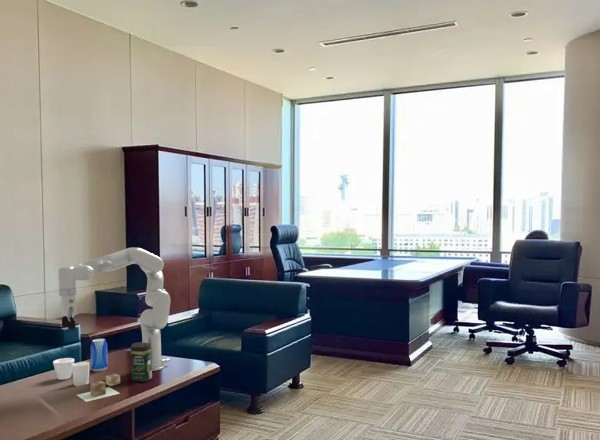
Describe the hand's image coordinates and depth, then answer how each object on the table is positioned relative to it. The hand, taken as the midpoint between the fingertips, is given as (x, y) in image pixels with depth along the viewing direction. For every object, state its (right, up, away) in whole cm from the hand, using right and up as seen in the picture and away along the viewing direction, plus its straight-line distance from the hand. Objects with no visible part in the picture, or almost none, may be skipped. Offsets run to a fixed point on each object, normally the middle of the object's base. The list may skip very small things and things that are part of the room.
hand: (68, 327), depth 251 cm
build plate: (+20, -28, -15) cm, 38 cm away
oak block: (+21, -28, 0) cm, 35 cm away
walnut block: (+20, -27, -15) cm, 37 cm away
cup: (-9, -30, +16) cm, 35 cm away
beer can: (+3, -29, +31) cm, 42 cm away
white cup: (+4, -29, +5) cm, 30 cm away
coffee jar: (+33, -28, +9) cm, 44 cm away
